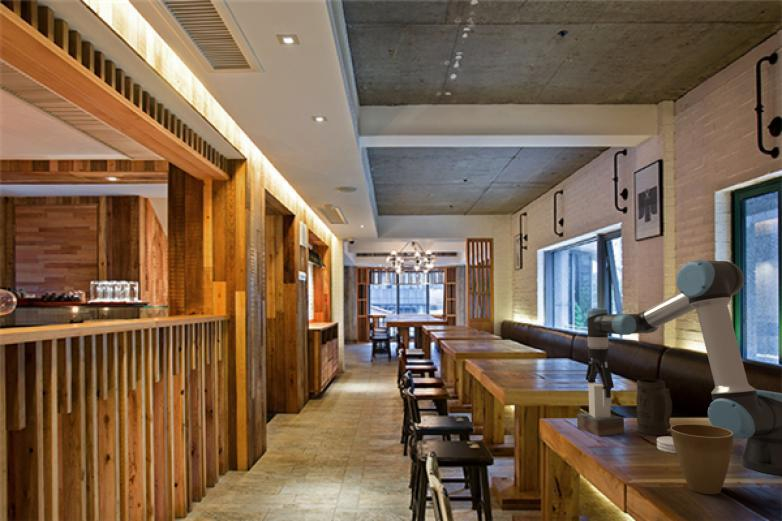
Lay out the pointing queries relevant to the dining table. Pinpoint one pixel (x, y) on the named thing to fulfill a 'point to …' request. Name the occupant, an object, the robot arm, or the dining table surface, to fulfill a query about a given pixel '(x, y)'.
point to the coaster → (666, 444)
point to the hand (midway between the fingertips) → (599, 402)
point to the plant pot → (703, 455)
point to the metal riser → (600, 424)
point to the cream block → (597, 402)
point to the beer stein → (653, 407)
